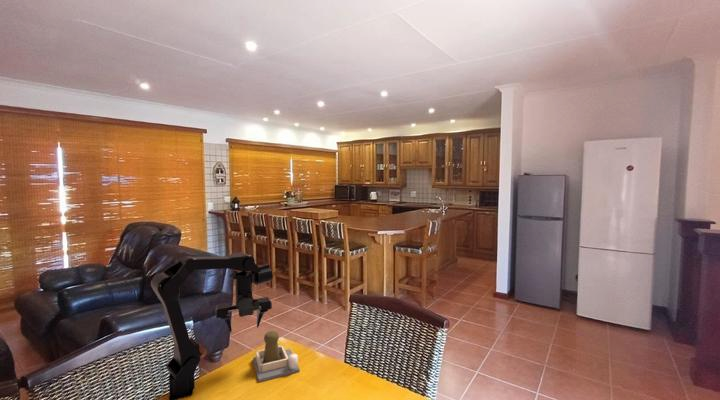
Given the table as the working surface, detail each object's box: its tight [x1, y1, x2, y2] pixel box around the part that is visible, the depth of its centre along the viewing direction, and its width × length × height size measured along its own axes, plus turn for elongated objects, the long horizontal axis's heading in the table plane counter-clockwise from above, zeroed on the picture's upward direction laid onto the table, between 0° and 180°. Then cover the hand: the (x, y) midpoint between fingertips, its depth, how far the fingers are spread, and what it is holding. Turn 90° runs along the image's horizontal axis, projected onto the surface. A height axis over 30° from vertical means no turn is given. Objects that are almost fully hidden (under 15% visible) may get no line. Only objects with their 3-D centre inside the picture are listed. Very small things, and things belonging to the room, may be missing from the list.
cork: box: [263, 330, 280, 364], centre depth 117 cm, size 6×6×11 cm
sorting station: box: [252, 345, 301, 383], centre depth 117 cm, size 14×14×5 cm
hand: (244, 329), depth 117 cm, fingers open, 9 cm apart
